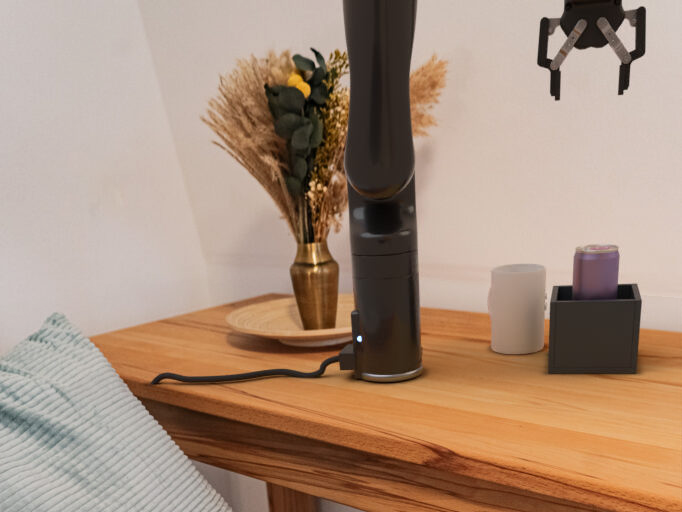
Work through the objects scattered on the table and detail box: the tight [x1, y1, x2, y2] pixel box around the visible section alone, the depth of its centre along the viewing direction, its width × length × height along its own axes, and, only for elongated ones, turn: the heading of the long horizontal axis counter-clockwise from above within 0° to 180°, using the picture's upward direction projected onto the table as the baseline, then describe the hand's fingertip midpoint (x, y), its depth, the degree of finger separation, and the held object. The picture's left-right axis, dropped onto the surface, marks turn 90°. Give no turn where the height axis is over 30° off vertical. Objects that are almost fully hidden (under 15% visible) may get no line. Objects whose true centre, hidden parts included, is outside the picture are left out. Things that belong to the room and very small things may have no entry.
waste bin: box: [547, 283, 643, 375], centre depth 117 cm, size 12×12×10 cm
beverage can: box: [571, 243, 621, 301], centre depth 116 cm, size 6×6×15 cm
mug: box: [487, 263, 548, 355], centre depth 129 cm, size 8×12×12 cm
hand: (588, 97), depth 118 cm, fingers open, 8 cm apart
